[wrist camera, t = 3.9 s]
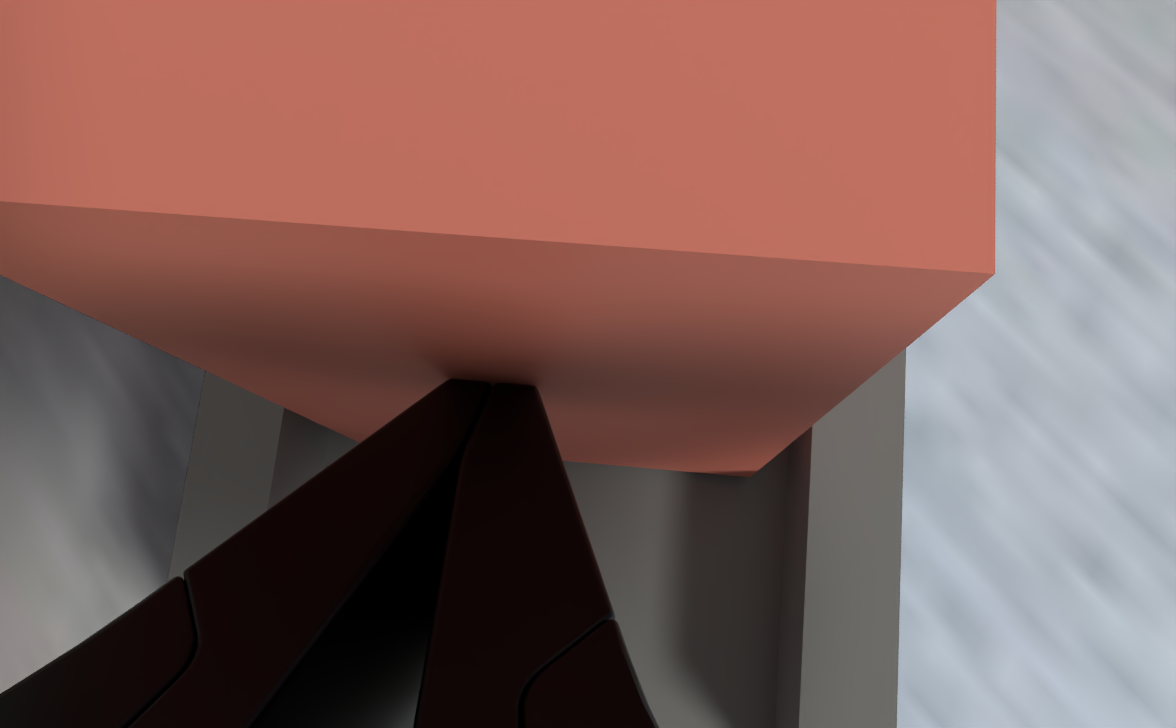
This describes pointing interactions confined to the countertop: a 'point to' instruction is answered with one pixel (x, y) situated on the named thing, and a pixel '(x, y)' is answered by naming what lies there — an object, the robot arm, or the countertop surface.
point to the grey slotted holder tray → (672, 555)
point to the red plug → (511, 200)
